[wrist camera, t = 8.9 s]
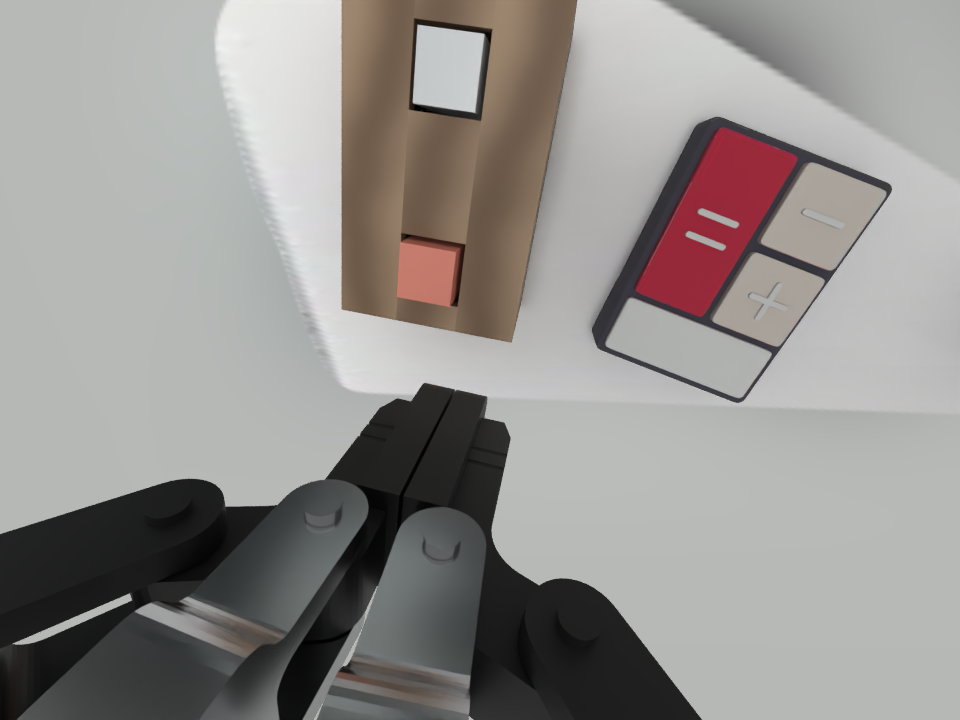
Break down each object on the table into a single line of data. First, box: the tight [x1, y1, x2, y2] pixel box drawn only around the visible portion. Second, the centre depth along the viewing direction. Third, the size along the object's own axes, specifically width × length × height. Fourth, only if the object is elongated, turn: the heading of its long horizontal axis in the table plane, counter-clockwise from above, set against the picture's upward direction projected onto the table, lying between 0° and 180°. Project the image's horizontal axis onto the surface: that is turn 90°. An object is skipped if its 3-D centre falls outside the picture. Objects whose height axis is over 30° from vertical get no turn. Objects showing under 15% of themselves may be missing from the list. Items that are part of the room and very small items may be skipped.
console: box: [342, 0, 577, 342], centre depth 26 cm, size 11×17×7 cm, turn 172°
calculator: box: [592, 117, 892, 403], centre depth 28 cm, size 11×4×15 cm
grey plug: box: [413, 25, 491, 121], centre depth 24 cm, size 3×3×7 cm
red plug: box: [397, 235, 466, 307], centre depth 28 cm, size 3×3×7 cm
